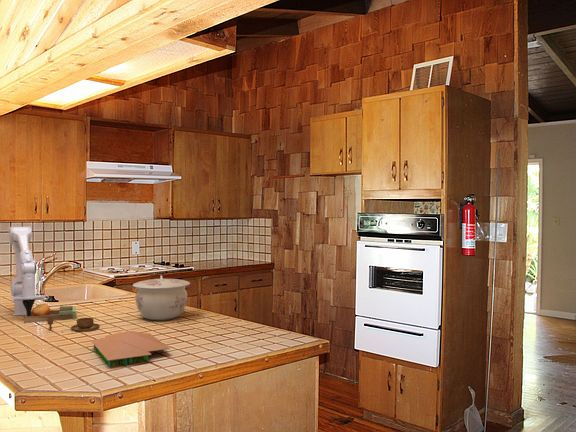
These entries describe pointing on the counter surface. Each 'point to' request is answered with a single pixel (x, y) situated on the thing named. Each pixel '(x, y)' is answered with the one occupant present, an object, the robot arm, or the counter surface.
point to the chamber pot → (161, 298)
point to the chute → (54, 315)
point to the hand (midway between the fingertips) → (29, 315)
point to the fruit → (41, 310)
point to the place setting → (79, 325)
